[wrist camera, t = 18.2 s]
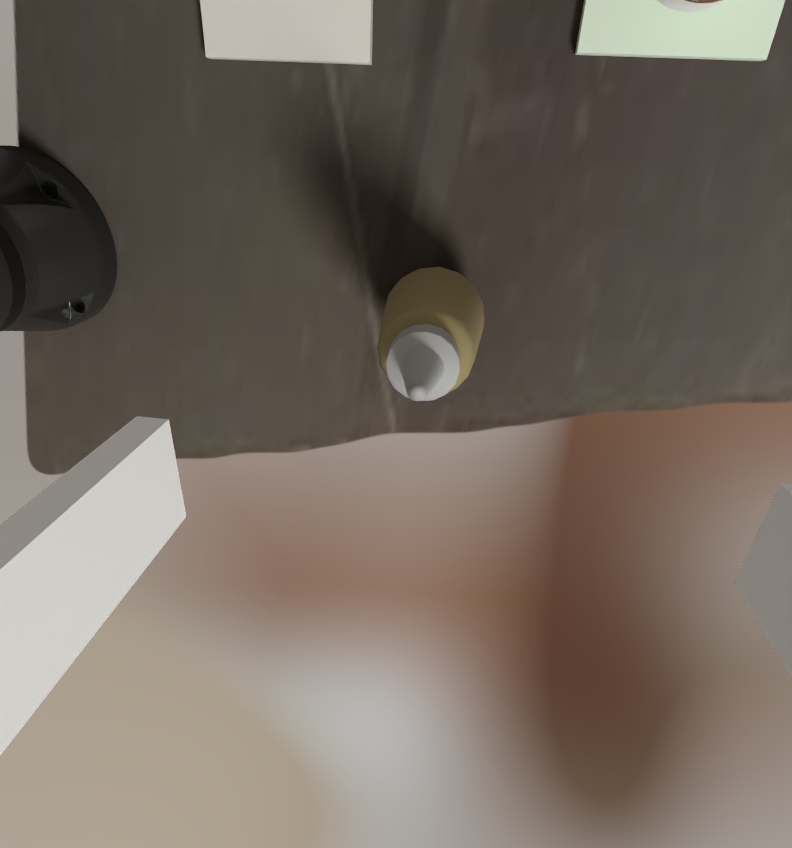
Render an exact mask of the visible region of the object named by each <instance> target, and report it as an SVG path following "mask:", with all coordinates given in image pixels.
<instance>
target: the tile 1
mask: <svg viewBox="0 0 792 848" xmlns="http://www.w3.org/2000/svg"><path fill="white" fill-rule="evenodd" d="M200 5H201V15H202V24H203V34H204V44H205V53H206V57H207V58H210V59H227V60H254V61H280V62H307V63H334V64H361V65H372V27H373V0H200Z"/></svg>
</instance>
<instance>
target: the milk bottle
mask: <svg viewBox="0 0 792 848" xmlns="http://www.w3.org/2000/svg"><path fill="white" fill-rule="evenodd" d="M657 1H658V2H660V3H661V4H662V5H664V6H666V7H668V8H670V9H673V10H676V11H681V12H695V11H701V10H705V9H708V8H711V7H713V6H715V5H717V4H719V3H721V2H723V1H725V0H657Z"/></svg>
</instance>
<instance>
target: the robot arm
mask: <svg viewBox="0 0 792 848" xmlns="http://www.w3.org/2000/svg"><path fill="white" fill-rule="evenodd" d="M116 273H117V260H116V252H115V246H114V242H113V238H112V235H111V232H110V229H109V227H108V224H107V222H106V220H105V218H104V216H103V214H102V212H101V210H100V209H99V207H98V205H97V204H96V202H95V201H94V199H93V198H92V197H91V195H90V194H89V193H88V191H87V190H86V189H85V188H84V187H83V185H82V184H81V183H80V182H79V181H78V180H77V179H76V178H75V177H74V176H73V175H71V174H70V173H69V172H68V171H67V170H66V169H64V168H63V167H62V166H60V165H59V164H57V163H56V162H54V161H53V160H51V159H49V158H48V157H46V156H44V155H42V154H39V153H37V152H35V151H32V150H29V149H25V148H21V147H16V146H0V331H53V330H60V329H65V328H68V327H71V326H73V325H76V324H78V323H80V322H83V321H85V320H87V319H89V318H91V317H93V316H94V315H96V314H97V313H98V312H99V311H100V310H101V309H102V308H103V307H104V306H105V304H106V303H107V301H108V300H109V298H110V296H111V294H112V291H113V288H114V285H115V280H116ZM185 517H186V513H185V507H184V502H183V496H182V490H181V485H180V480H179V474H178V468H177V463H176V457H175V452H174V446H173V440H172V435H171V429H170V424H169V420H168V419H159V418H149V417H139V416H137V417H135V418H134V419H133V420H132V421H130V422H129V423H128V424H126V425H125V426H124V427H123V428H121V429H120V430H119V431H118V432H116V433H115V434H114V435H113V436H111V437H110V438H109V439H108V440H106V441H105V442H104V443H103V444H101V445H100V446H99V447H98V448H96V449H95V450H94V451H93V452H91V453H90V454H89V455H88V456H86V457H85V458H84V459H82V460H81V461H80V462H79V463H77V464H76V465H75V466H74V467H72V468H71V469H70V470H69V471H67V472H66V473H65V474H64V475H62V476H61V477H60V478H59V479H57V480H56V481H55V482H54V483H52V484H51V485H50V486H49V487H47V488H46V489H45V490H44V491H42V492H41V493H40V494H38V495H37V496H36V497H35V498H33V499H32V500H31V501H30V502H28V503H27V504H26V505H25V506H23V507H22V508H21V509H20V510H18V511H17V512H16V513H15V514H13V515H12V516H11V517H10V518H8V519H7V520H6V521H5V522H3V523H2V524H1V525H0V755H1V754H2V753H3V751H4V750H5V749H6V747H7V746H8V745H9V744H10V742H11V741H12V740H13V739H14V737H15V736H16V735H17V733H18V732H19V731H20V729H21V728H22V727H23V726H24V724H25V723H26V722H27V721H28V719H29V718H30V717H31V715H32V714H33V713H34V712H35V710H36V709H37V708H38V706H39V705H40V704H41V703H42V701H43V700H44V699H45V697H46V696H47V695H48V694H49V692H50V691H51V690H52V688H53V687H54V686H55V685H56V683H57V682H58V681H59V679H60V678H61V677H62V676H63V674H64V673H65V672H66V670H67V669H68V668H69V667H70V665H71V664H72V663H73V661H74V660H75V659H76V658H77V656H78V655H79V654H80V652H81V651H82V650H83V648H84V647H85V646H86V645H87V643H88V642H89V641H90V640H91V638H92V637H93V636H94V634H95V633H96V632H97V631H98V629H99V628H100V627H101V625H102V624H103V623H104V622H105V620H106V619H107V618H108V616H109V615H110V614H111V613H112V611H113V610H114V609H115V607H116V606H117V605H118V604H119V602H120V601H121V600H122V598H123V597H124V596H125V595H126V593H127V592H128V591H129V589H130V588H131V587H132V586H133V584H134V583H135V582H136V580H137V579H138V578H139V577H140V575H141V574H142V573H143V571H144V570H145V569H146V568H147V566H148V565H149V564H150V562H151V561H152V560H153V559H154V557H155V556H156V555H157V553H158V552H159V551H160V550H161V548H162V547H163V546H164V544H165V543H166V542H167V541H168V539H169V538H170V537H171V535H172V534H173V533H174V532H175V530H176V529H177V528H178V526H179V525H180V524H181V523H182V521H183V520H184V519H185ZM734 584H735V586H736V588H737V589H738V591H739V593H740V594H741V596H742V598H743V599H744V601H745V603H746V604H747V605H748V607H749V609H750V611H751V612H752V614H753V616H754V617H755V619H756V621H757V622H758V624H759V626H760V627H761V629H762V630H763V632H764V634H765V635H766V637H767V639H768V640H769V642H770V644H771V645H772V647H773V649H774V650H775V652H776V654H777V655H778V657H779V659H780V660H781V662H782V663H783V665H784V667H785V668H786V670H787V672H788V673H789V675H790V677H791V678H792V484H788V483H780V485H779V487H778V489H777V491H776V494H775V496H774V498H773V500H772V502H771V504H770V506H769V508H768V510H767V513H766V515H765V517H764V519H763V521H762V523H761V525H760V527H759V529H758V531H757V534H756V536H755V538H754V540H753V542H752V544H751V546H750V548H749V551H748V553H747V555H746V557H745V559H744V561H743V564H742V565H741V568H740V570H739V572H738V574H737V576H736V578H735V580H734Z"/></svg>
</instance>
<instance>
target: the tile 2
mask: <svg viewBox="0 0 792 848" xmlns="http://www.w3.org/2000/svg"><path fill="white" fill-rule="evenodd" d="M784 2H785V0H725V1H723V2H721V3H719V4H717V5H715V6H713V7H711V8H708V9H705V10H701V11H695V12H681V11H676V10H673V9H670V8H668V7H666V6H664V5H662V4H661V3H660V2H658V1H657V0H584V4H583V10H582V16H581V22H580V28H579V33H578V39H577V45H576V51H575V55H597V56H626V57H656V58H685V59H714V60H744V61H763V60H766V59H767V56H768V53H769V50H770V47H771V44H772V41H773V37H774V34H775V31H776V28H777V25H778V21H779V18H780V15H781V12H782V9H783V5H784Z"/></svg>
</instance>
